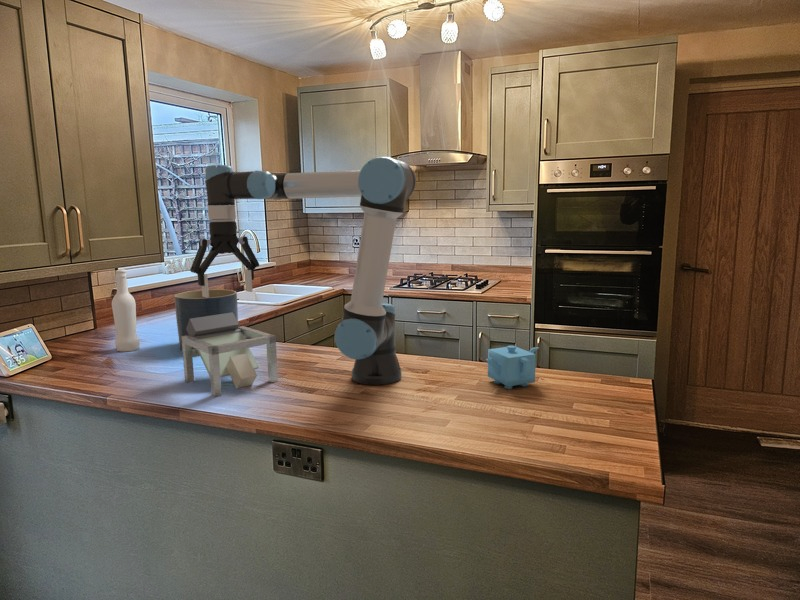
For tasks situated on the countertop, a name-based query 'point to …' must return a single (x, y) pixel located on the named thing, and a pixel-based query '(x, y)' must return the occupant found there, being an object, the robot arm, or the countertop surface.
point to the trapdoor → (219, 338)
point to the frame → (215, 350)
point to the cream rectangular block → (241, 370)
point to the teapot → (512, 366)
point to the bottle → (124, 315)
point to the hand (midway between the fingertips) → (228, 294)
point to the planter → (202, 307)
